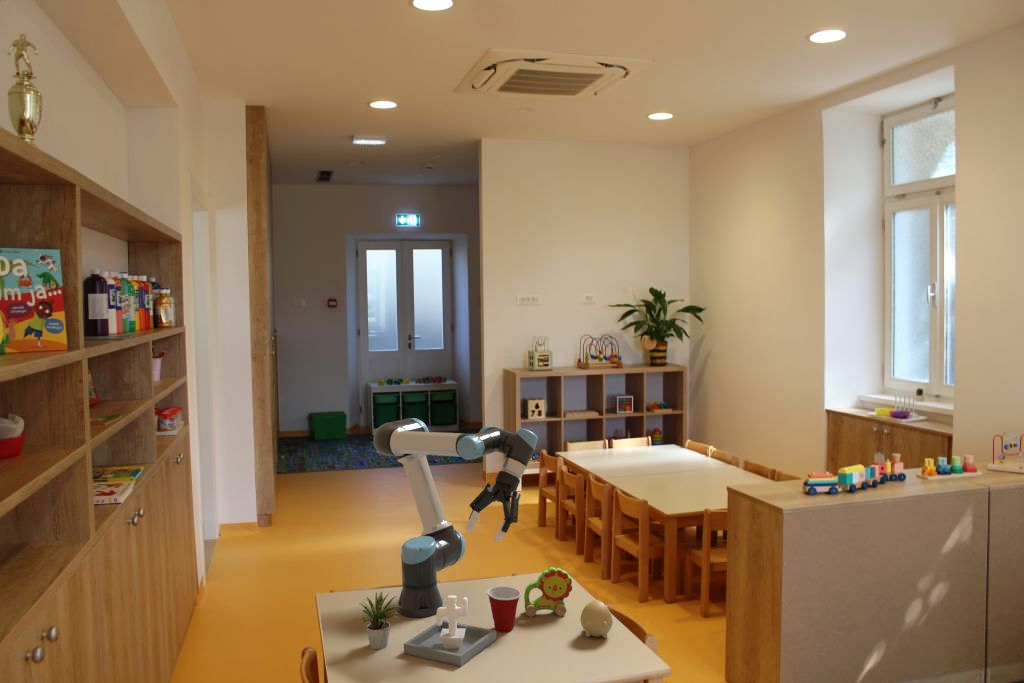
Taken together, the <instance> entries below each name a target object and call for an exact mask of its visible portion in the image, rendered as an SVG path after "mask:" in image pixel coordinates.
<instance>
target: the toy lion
mask: <svg viewBox="0 0 1024 683" xmlns="http://www.w3.org/2000/svg"><path fill="white" fill-rule="evenodd" d="M572 584H573V580H572V577H571V576H570V575H569V574H568V572H567V571H566V570H563V569H561V568H560V567H556V568H555V567H554V566H551V567H549V568H548V569H545V570H543V571H542V573H541V574H539V576H538V579H536V580H534V581H531V582H530V583H529V584H528V585H527V586H526V588H525V590H524V597H523V598H524V612H525V615H526V616H528V617H530V618H532V617H535V615H536V614H537V612H538V611H542V610H547V611H548V610H549V611H553V612H555V614H556V615H557V616H559V617H563V616H564V615H566V613H567V608H566V604H565V601H564V600H565V599H567V598H568V597H569V596H570V593H571V592H572V591H573V585H572ZM533 589H537V590H538V589H539V590H540V591H541V593H542V595H540V596H538V597H537V598H536V599H534V601H533V600H531V599H530V594H531V591H532V590H533Z"/></svg>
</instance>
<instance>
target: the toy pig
mask: <svg viewBox="0 0 1024 683" xmlns="http://www.w3.org/2000/svg"><path fill="white" fill-rule="evenodd" d="M579 619H580V620H579V621H580V624H581V627H582V629H583V630H584V632H585V636H586V637H588V638H589V637H595V638H597V637H599V638H600V637H602V638H605V639H606V638H607V636H608V633H609V632H610V631H611V629H612V626H613V624H614V621H613V616H612V613H611V611H610V609H609V608H608V606H607V605H606V603H604V602H603V601H601V600H599V599H594V600H591V601H590V602H588V603H587V604H586V605H585V606H584V608H583V609H582V611H581V614H580V618H579Z"/></svg>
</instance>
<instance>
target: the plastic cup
mask: <svg viewBox="0 0 1024 683" xmlns="http://www.w3.org/2000/svg"><path fill="white" fill-rule="evenodd" d="M486 594H487V595H488V599H489V604H490V609H491V615H492V619H493V624H494V630H495V631H496V632H499V633H508V632H511V631H513V629H514V627H515V620H516V614H517V608H518V603H519V599H520V597H521V596H522V592H521V591H520V589H517V588H515V587H512V586H501V585H500V586H494V587H490V588H489V589H487V592H486Z"/></svg>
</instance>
